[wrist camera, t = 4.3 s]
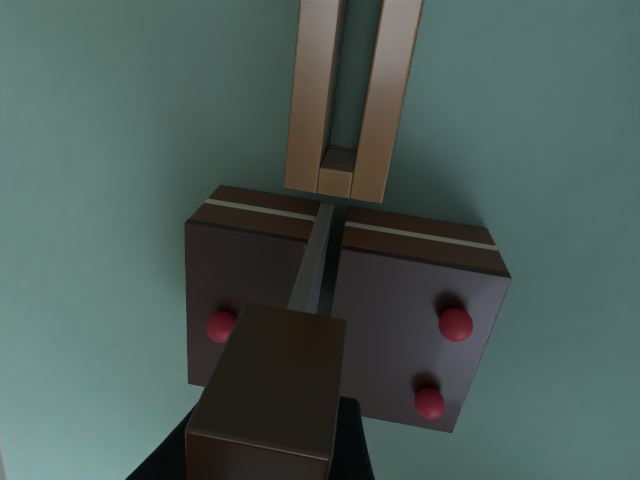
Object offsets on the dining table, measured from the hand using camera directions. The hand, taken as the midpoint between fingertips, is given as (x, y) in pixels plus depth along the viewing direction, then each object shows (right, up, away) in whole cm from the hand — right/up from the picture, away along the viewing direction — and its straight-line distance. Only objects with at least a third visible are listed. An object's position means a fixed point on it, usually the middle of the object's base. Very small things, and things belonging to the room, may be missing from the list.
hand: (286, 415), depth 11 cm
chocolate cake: (+5, +2, +10) cm, 11 cm away
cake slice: (-2, +3, +11) cm, 11 cm away
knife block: (+2, +11, +6) cm, 13 cm away
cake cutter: (+1, +2, +4) cm, 5 cm away
